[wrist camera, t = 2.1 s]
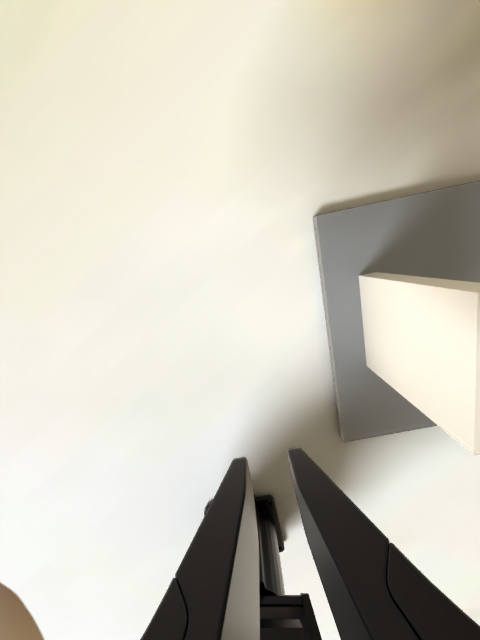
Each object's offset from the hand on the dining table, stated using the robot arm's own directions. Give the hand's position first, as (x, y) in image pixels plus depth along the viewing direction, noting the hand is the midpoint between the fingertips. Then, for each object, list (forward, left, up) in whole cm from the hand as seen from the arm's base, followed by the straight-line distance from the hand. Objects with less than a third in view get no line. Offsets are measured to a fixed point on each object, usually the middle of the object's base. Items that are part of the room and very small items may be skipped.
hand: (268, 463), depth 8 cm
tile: (0, -9, -11) cm, 14 cm away
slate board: (-1, -14, -12) cm, 18 cm away
